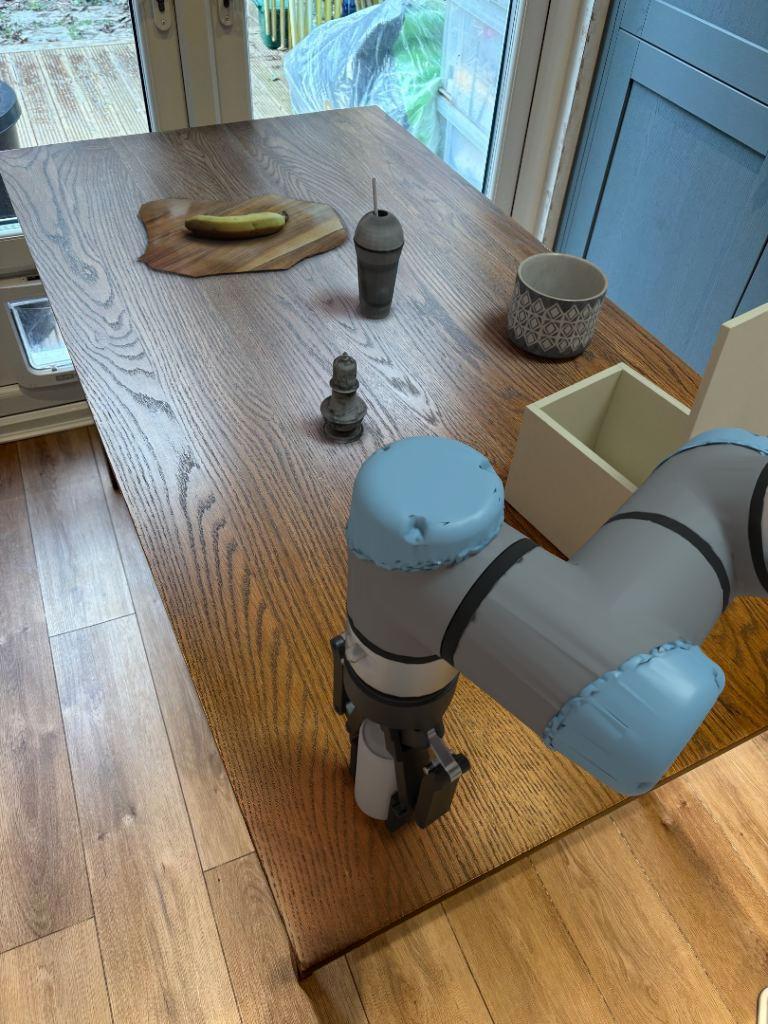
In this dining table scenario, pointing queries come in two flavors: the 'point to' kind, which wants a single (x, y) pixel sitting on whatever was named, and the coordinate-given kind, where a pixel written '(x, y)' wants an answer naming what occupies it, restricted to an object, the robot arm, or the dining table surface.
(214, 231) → the cutting board
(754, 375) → the box lid
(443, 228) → the dining table surface
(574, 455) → the cream box
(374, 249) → the beverage cup
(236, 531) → the dining table surface
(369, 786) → the beverage can
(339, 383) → the chess piece
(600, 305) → the planter
